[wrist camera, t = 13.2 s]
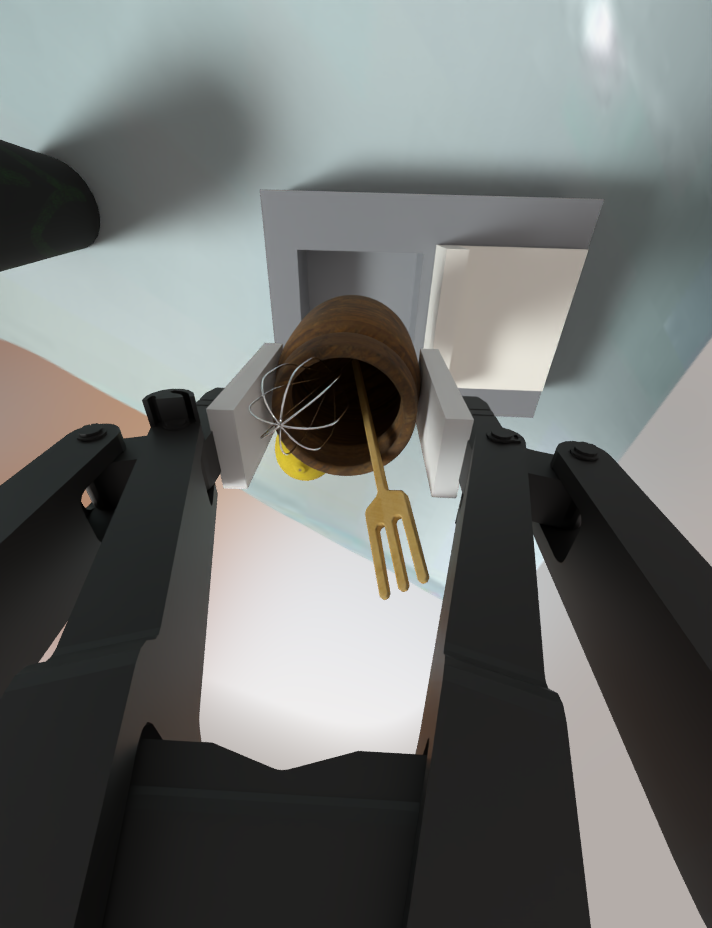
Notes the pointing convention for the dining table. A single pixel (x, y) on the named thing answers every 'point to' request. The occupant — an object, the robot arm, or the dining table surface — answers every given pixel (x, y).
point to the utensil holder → (353, 410)
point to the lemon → (294, 464)
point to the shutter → (500, 312)
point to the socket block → (401, 252)
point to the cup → (42, 208)
